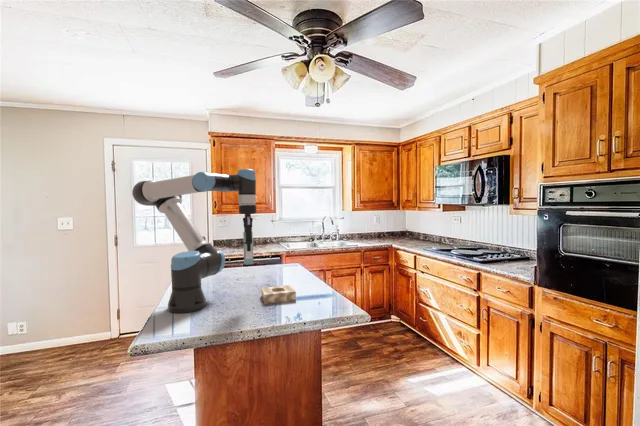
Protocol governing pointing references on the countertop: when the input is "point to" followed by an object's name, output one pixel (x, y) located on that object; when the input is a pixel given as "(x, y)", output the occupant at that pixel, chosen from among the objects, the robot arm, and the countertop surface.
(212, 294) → the countertop surface
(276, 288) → the socket block
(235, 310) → the countertop surface
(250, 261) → the dowel
